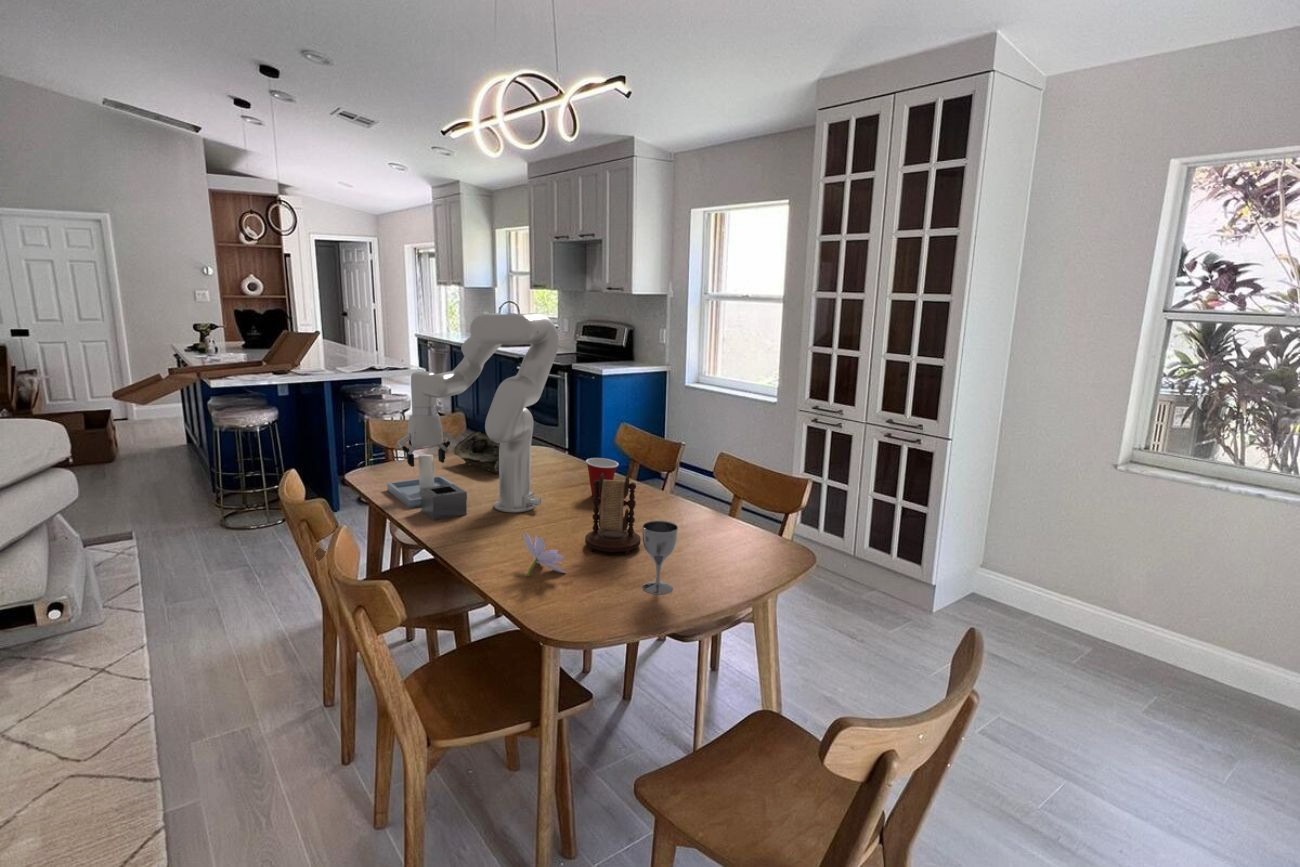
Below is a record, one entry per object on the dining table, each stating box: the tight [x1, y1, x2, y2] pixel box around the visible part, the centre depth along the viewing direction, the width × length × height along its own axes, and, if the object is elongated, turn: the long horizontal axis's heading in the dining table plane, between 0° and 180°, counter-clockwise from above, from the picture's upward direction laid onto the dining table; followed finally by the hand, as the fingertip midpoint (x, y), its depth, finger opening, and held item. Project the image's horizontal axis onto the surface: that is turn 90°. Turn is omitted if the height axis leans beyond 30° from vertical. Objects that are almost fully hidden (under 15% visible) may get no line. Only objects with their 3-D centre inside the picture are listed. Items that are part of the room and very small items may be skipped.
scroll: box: [584, 473, 642, 556], centre depth 182 cm, size 15×15×20 cm
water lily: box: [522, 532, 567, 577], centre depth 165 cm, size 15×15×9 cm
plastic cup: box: [585, 457, 619, 499], centre depth 227 cm, size 11×11×12 cm
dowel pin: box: [418, 454, 435, 494], centre depth 221 cm, size 4×4×12 cm
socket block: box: [420, 483, 468, 521], centre depth 205 cm, size 10×10×7 cm
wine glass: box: [641, 520, 679, 595], centre depth 158 cm, size 8×8×15 cm
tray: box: [386, 475, 468, 509], centre depth 222 cm, size 22×18×2 cm
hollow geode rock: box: [452, 431, 500, 475], centre depth 256 cm, size 28×13×15 cm
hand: (426, 463), depth 220 cm, fingers open, 9 cm apart
